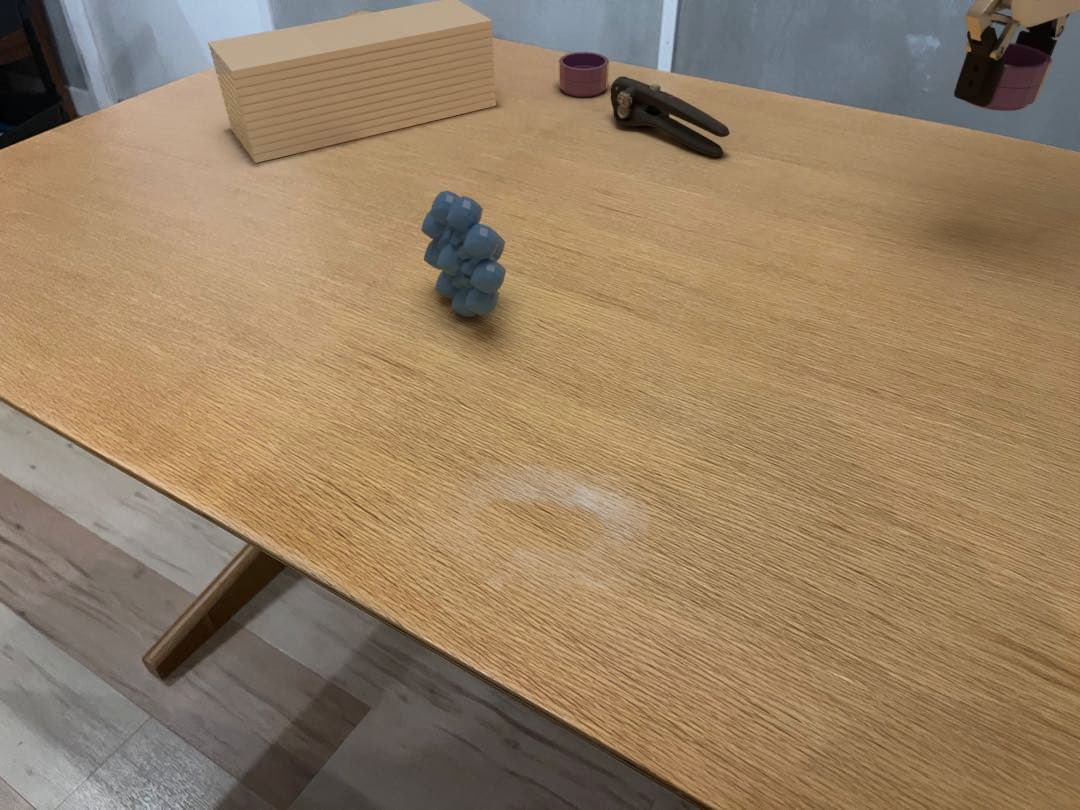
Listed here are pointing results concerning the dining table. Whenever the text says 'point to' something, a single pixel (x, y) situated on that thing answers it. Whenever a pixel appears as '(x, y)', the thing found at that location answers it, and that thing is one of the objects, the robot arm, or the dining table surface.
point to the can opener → (664, 114)
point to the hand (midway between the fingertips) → (996, 89)
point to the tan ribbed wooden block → (354, 76)
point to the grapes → (464, 254)
